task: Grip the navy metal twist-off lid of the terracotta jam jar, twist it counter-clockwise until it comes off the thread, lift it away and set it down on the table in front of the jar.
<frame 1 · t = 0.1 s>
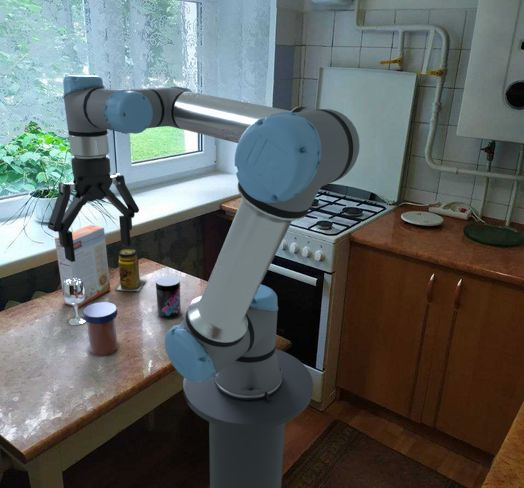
hand: (99, 251, 109), 29 cm above the table, tool pointing down, fingers open, 13 cm apart
supplement container: (169, 314, 143), on the table
lid: (100, 310, 121), point 11 cm above the table, screwed on, not yet turned
wineglass: (77, 321, 137), on the table
jar: (104, 348, 125), on the table
cracker box: (87, 297, 151), on the table
condiment: (131, 285, 159), on the table
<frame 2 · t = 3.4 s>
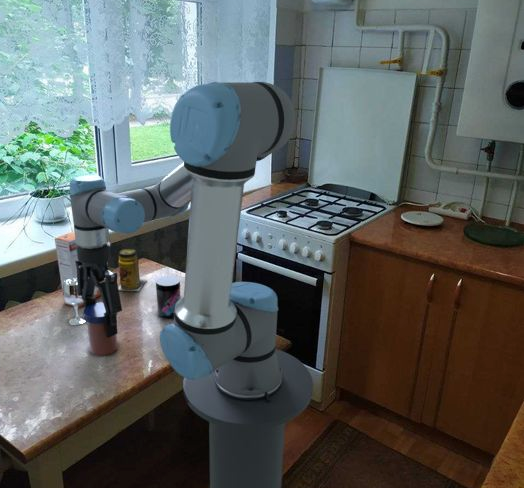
hand: (101, 329, 123), 6 cm above the table, tool pointing down, fingers closed on lid, 8 cm apart
lid: (100, 310, 121), point 11 cm above the table, screwed on, not yet turned, touching gripper
everything else where it was.
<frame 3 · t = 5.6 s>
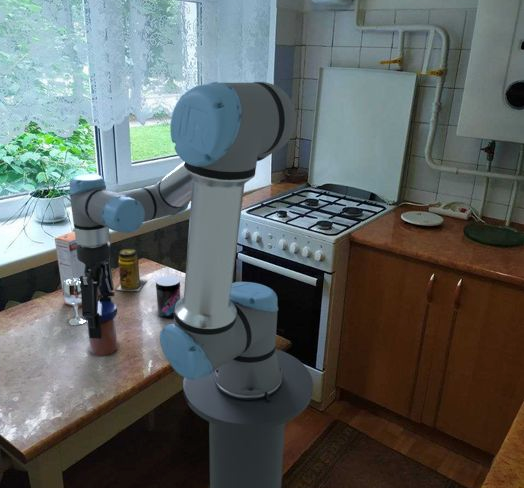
hand: (101, 328, 123), 6 cm above the table, tool pointing down, fingers closed on lid, 8 cm apart
lid: (99, 309, 121), point 11 cm above the table, off its thread, touching gripper
everything else where it was.
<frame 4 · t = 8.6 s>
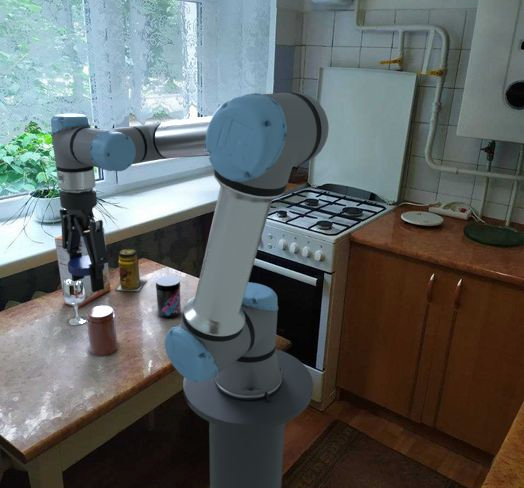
hand: (88, 284, 115), 19 cm above the table, tool pointing down, fingers closed on lid, 8 cm apart
lid: (85, 263, 113), point 25 cm above the table, off its thread, touching gripper
everything else where it was.
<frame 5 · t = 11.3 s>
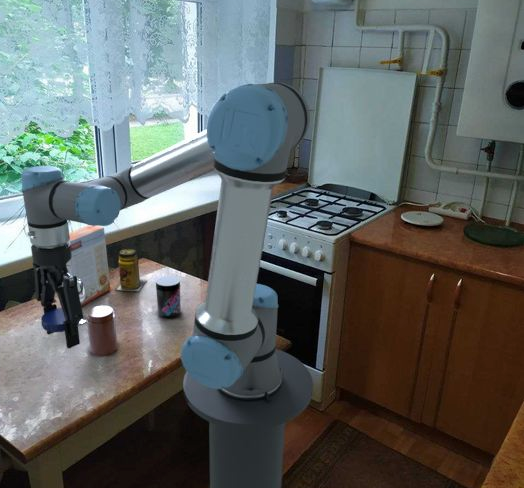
hand: (63, 338, 110), 10 cm above the table, tool pointing down, fingers closed on lid, 8 cm apart
lid: (60, 317, 108), point 15 cm above the table, off its thread, touching gripper
everything else where it was.
when the fingers open (0 cm above the table, at t = 13.7 s): lid drops 4 cm, point 2 cm above the table.
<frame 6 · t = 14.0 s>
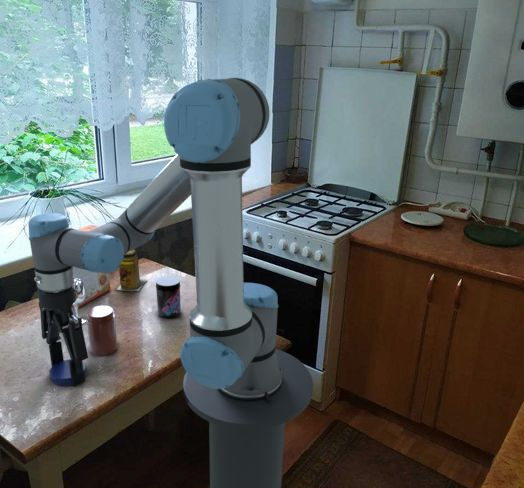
hand: (68, 375, 114), 0 cm above the table, tool pointing down, fingers open, 8 cm apart
lid: (67, 370, 113), point 2 cm above the table, off its thread, touching gripper
everything else where it was.
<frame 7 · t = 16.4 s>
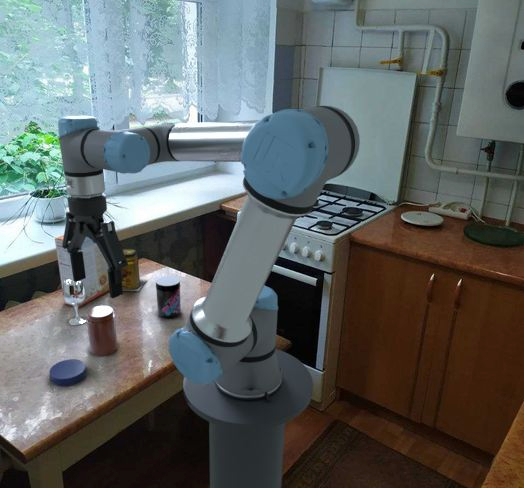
hand: (97, 287, 109), 21 cm above the table, tool pointing down, fingers open, 13 cm apart
lid: (67, 370, 113), point 1 cm above the table, off its thread
everything else where it was.
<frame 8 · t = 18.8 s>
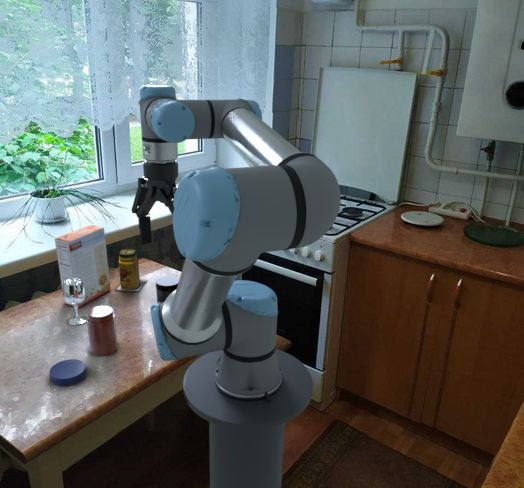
hand: (164, 250, 116), 27 cm above the table, tool pointing down, fingers open, 13 cm apart
nothing on the table moved.
at the end: lid came off its thread; lid point 1.5 cm above the table; the gripper is holding nothing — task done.
